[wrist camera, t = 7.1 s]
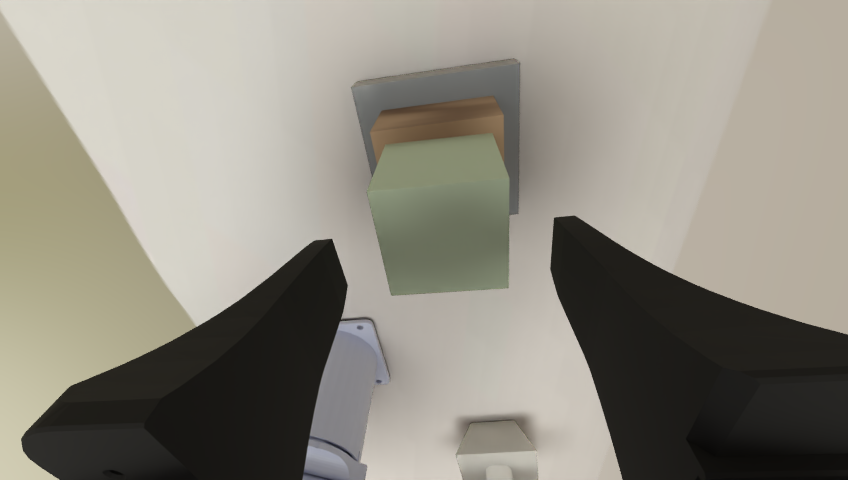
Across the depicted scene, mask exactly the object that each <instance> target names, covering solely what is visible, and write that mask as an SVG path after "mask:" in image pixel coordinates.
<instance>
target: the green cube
mask: <svg viewBox="0 0 848 480" xmlns="http://www.w3.org/2000/svg"><path fill="white" fill-rule="evenodd" d="M367 195H368V199H369V203H370V208H371V212H372V216H373V220H374V225H375V229H376V233H377V237H378V242H379V246H380V250H381V254H382V259H383V263H384V267H385V271H386V275H387V280H388V284H389V288H390V292H391V296H394V295H409V294H425V293H440V292H456V291H471V290H487V289H502V288H508V286H509V176H508V173H507V170H506V168H505V165H504V162H503V160H502V157H501V154H500V152H499V149H498V147H497V144H496V141H495V139H494V136H493V133H486V134H477V135H468V136H459V137H450V138H441V139H432V140H422V141H413V142H404V143H395V144H386V145H385V147H384V149H383V152H382V154H381V157H380V159H379V162H378V164H377V167H376V170H375V172H374V175H373V177H372V180H371V182H370V185H369V187H368V190H367Z"/></svg>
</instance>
